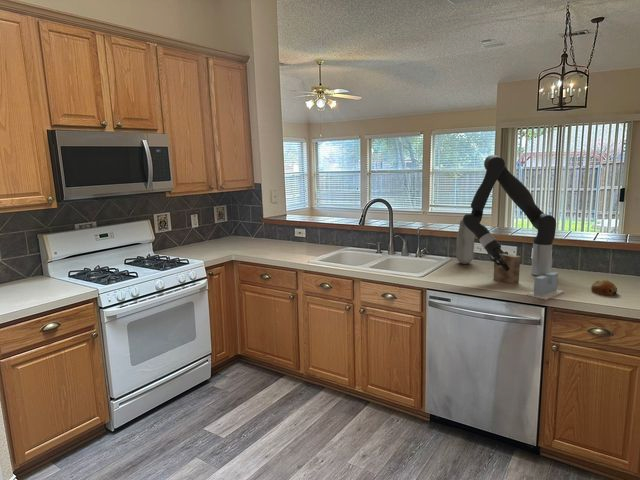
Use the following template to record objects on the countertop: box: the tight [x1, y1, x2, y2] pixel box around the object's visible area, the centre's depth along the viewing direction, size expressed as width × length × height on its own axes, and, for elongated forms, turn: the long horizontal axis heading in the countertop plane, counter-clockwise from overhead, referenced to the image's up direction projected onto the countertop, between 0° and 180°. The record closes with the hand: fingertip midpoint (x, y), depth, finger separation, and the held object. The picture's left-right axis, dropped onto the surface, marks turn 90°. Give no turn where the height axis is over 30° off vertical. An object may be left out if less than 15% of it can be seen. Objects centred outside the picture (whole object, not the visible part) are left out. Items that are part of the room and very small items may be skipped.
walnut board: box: [493, 253, 521, 285], centre depth 221 cm, size 12×4×14 cm, turn 36°
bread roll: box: [590, 279, 618, 297], centre depth 200 cm, size 10×10×8 cm
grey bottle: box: [455, 218, 475, 265], centre depth 260 cm, size 10×10×28 cm
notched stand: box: [526, 271, 565, 301], centre depth 200 cm, size 17×9×9 cm, turn 126°
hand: (510, 269), depth 220 cm, fingers closed on walnut board, 3 cm apart
